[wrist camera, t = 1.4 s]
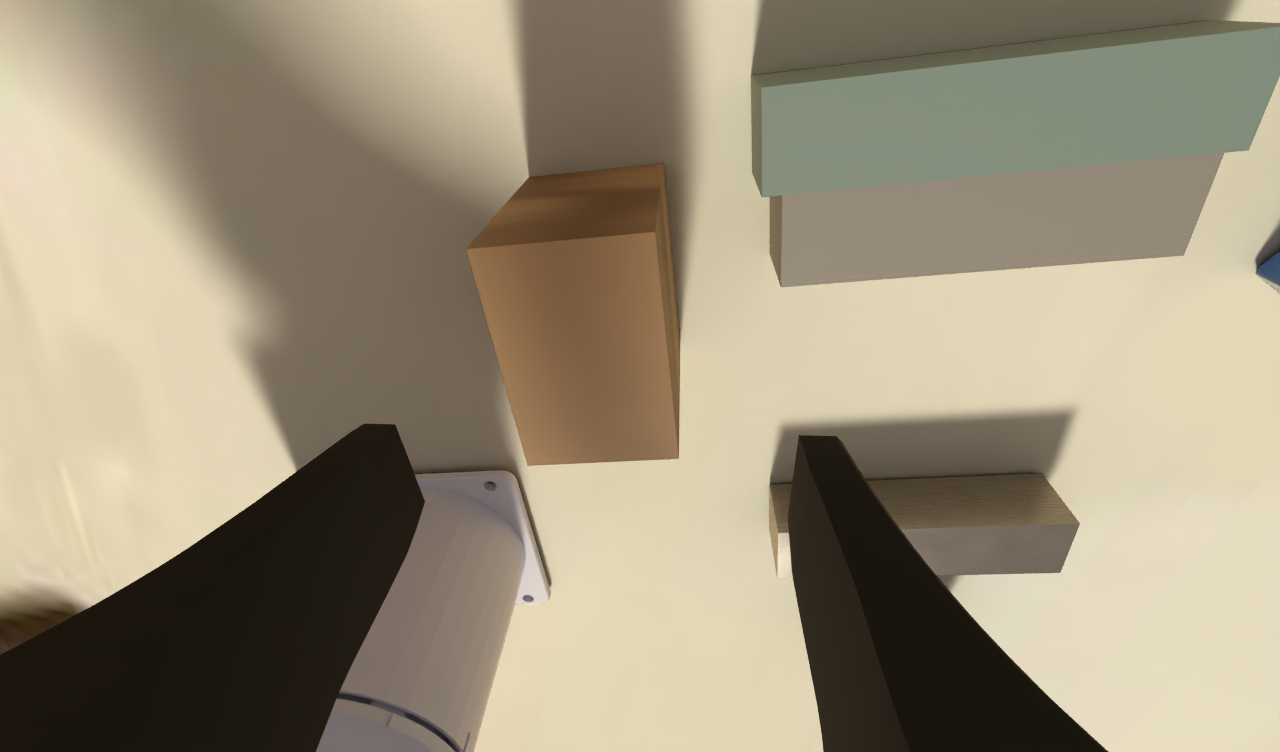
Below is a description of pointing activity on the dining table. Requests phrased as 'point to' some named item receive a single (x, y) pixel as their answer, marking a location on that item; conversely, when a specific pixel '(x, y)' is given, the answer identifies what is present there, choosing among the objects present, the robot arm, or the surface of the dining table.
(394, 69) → the dining table surface
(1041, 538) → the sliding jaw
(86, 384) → the dining table surface
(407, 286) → the dining table surface
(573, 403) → the walnut block
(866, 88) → the teal flat block
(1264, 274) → the medicine box
